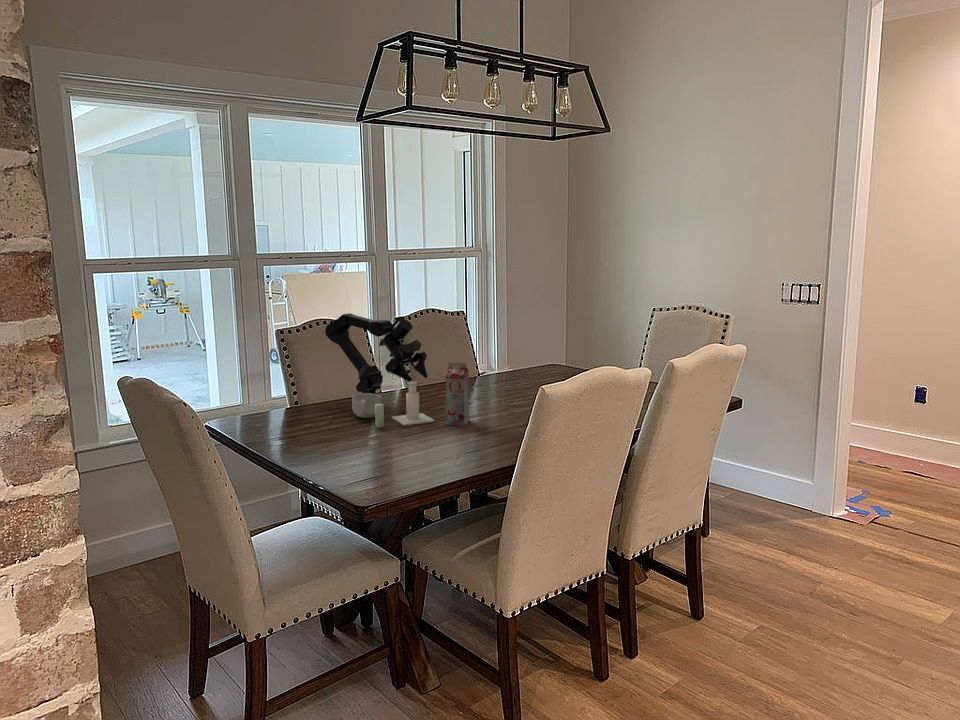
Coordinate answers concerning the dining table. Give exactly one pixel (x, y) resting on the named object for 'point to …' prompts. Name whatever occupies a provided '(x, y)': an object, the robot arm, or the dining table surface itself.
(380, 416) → the post
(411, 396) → the vase
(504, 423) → the dining table surface
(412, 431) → the dining table surface
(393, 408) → the dining table surface
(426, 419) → the mat
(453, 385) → the juice carton
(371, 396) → the teacup
